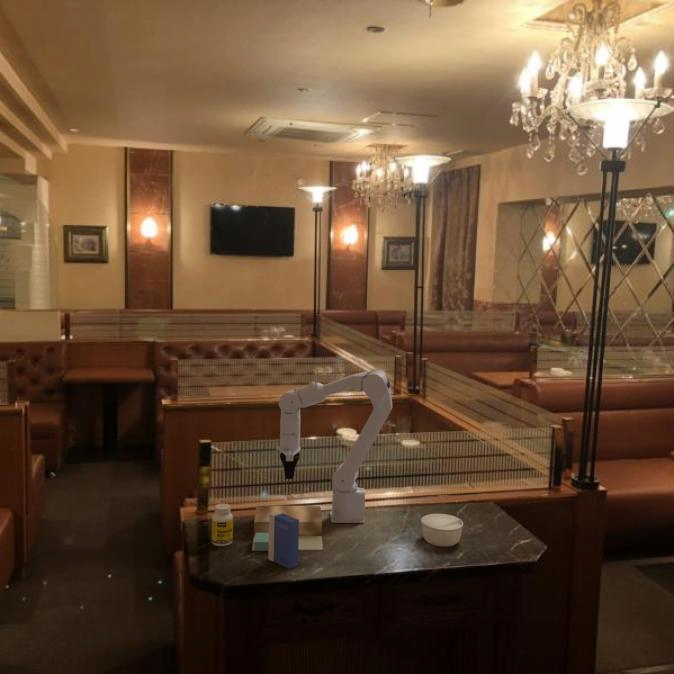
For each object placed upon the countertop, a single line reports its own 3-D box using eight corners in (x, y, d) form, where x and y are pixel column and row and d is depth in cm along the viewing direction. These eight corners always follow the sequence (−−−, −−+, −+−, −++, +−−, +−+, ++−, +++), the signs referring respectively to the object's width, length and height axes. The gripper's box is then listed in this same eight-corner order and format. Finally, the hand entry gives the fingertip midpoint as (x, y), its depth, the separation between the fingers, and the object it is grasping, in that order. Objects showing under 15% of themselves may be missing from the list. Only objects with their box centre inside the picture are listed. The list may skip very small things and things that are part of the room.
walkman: (298, 565, 166) (299, 518, 165) (289, 569, 164) (290, 521, 163) (276, 555, 172) (277, 509, 170) (268, 559, 169) (268, 512, 168)
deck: (320, 519, 196) (320, 505, 196) (321, 536, 184) (322, 521, 184) (256, 519, 195) (256, 505, 195) (254, 536, 183) (254, 521, 183)
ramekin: (459, 551, 177) (460, 531, 177) (416, 545, 180) (417, 525, 180) (464, 535, 188) (465, 516, 187) (424, 529, 191) (425, 511, 190)
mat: (321, 537, 184) (321, 536, 184) (322, 550, 175) (322, 549, 175) (253, 536, 183) (254, 535, 183) (251, 550, 174) (251, 549, 174)
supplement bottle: (215, 548, 175) (215, 511, 174) (208, 540, 180) (209, 504, 179) (235, 544, 178) (235, 508, 176) (228, 536, 182) (229, 501, 181)
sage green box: (290, 542, 174) (290, 549, 175) (290, 532, 180) (290, 540, 181) (254, 542, 174) (254, 549, 174) (256, 532, 180) (255, 540, 180)
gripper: (276, 426, 205) (276, 470, 206) (275, 438, 190) (274, 486, 192) (300, 426, 205) (299, 470, 207) (301, 439, 191) (300, 486, 192)
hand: (289, 478), depth 199 cm, fingers closed
